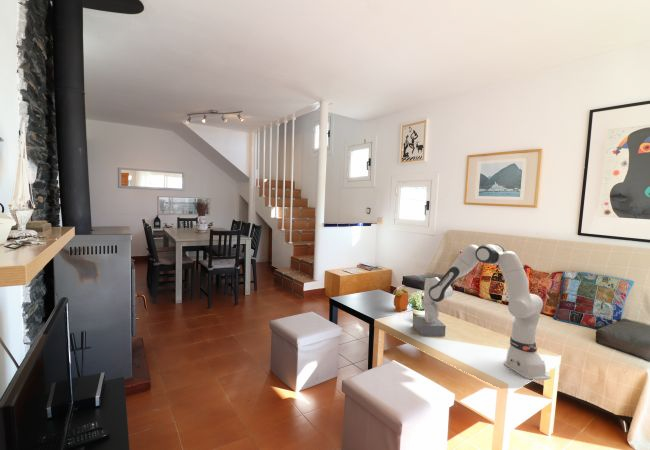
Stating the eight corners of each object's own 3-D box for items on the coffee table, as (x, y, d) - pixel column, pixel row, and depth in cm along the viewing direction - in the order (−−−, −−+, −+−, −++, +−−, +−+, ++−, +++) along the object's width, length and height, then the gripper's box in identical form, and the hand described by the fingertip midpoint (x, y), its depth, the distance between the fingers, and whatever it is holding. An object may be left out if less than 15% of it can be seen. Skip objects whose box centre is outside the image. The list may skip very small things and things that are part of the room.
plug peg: (433, 328, 219) (434, 313, 218) (426, 328, 219) (427, 313, 218) (430, 325, 224) (431, 310, 223) (424, 325, 223) (425, 310, 222)
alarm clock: (402, 307, 269) (403, 283, 267) (408, 309, 264) (410, 285, 262) (392, 311, 260) (394, 286, 258) (399, 313, 255) (400, 288, 253)
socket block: (445, 336, 214) (445, 325, 214) (421, 336, 213) (422, 325, 212) (434, 326, 230) (435, 316, 230) (412, 326, 229) (413, 316, 228)
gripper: (441, 304, 210) (440, 325, 211) (429, 295, 230) (427, 314, 231) (432, 304, 209) (430, 325, 210) (420, 295, 230) (419, 314, 231)
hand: (429, 319), depth 221 cm, fingers closed on plug peg, 4 cm apart
